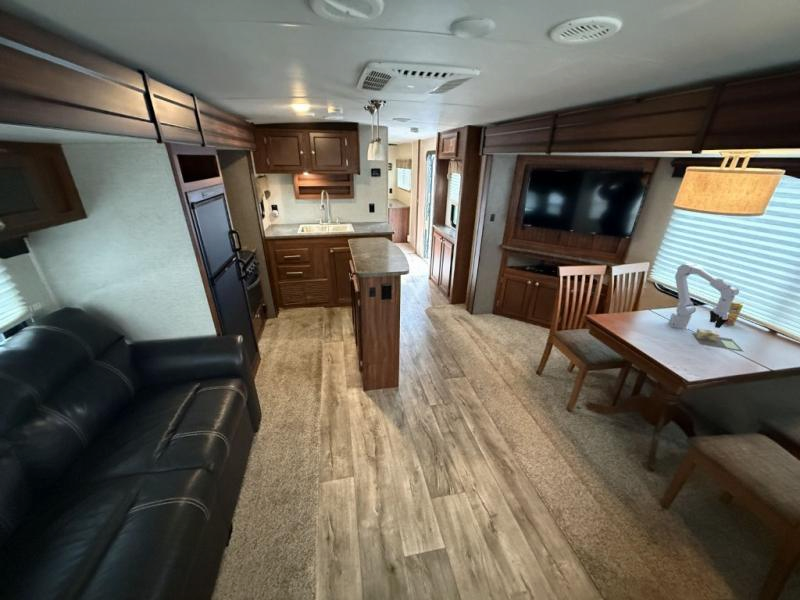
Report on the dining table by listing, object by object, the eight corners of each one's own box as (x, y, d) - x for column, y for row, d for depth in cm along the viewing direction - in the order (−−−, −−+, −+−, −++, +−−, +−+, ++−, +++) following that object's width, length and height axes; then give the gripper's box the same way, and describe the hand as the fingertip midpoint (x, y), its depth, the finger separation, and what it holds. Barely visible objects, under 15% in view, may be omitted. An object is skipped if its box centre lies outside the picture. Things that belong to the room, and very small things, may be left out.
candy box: (716, 321, 216) (725, 301, 210) (715, 319, 219) (724, 299, 213) (733, 325, 210) (743, 305, 204) (733, 322, 213) (742, 303, 207)
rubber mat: (699, 344, 189) (700, 344, 189) (691, 332, 202) (691, 332, 202) (743, 352, 181) (743, 351, 181) (731, 339, 194) (731, 338, 194)
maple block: (698, 337, 196) (700, 331, 194) (695, 334, 200) (697, 328, 198) (716, 341, 192) (719, 334, 190) (713, 337, 196) (716, 331, 194)
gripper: (738, 311, 179) (728, 331, 185) (726, 302, 191) (718, 321, 197) (722, 309, 182) (713, 329, 188) (712, 300, 194) (703, 319, 200)
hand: (714, 324), depth 193 cm, fingers open, 7 cm apart
